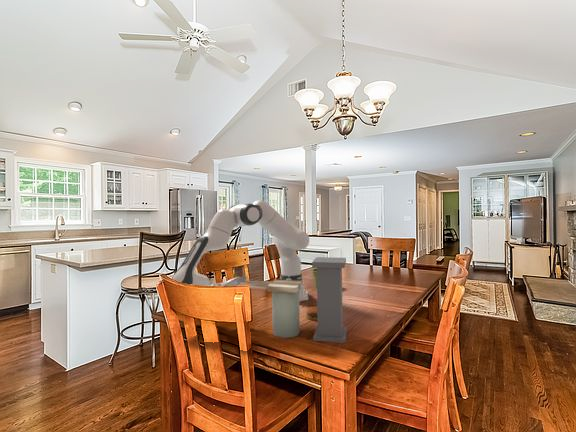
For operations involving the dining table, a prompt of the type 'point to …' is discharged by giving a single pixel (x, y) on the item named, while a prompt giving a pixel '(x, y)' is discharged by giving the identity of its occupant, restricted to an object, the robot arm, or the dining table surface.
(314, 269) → the plant pot
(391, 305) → the dining table surface
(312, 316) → the burger
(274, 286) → the cutting board
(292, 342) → the dining table surface
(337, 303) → the plinth
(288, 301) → the crock
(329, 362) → the dining table surface
